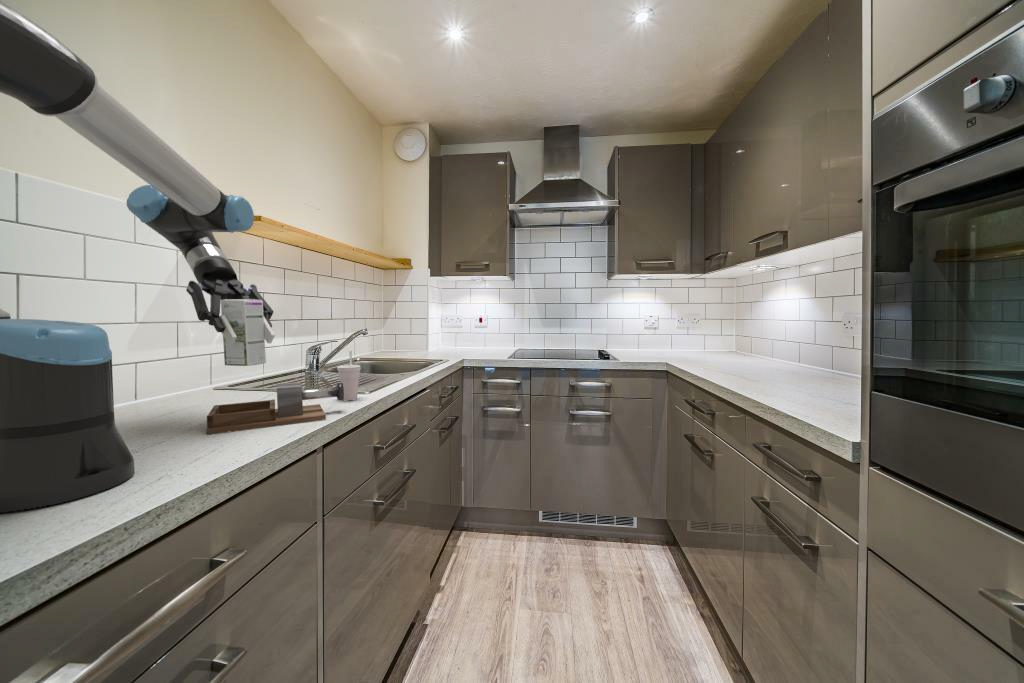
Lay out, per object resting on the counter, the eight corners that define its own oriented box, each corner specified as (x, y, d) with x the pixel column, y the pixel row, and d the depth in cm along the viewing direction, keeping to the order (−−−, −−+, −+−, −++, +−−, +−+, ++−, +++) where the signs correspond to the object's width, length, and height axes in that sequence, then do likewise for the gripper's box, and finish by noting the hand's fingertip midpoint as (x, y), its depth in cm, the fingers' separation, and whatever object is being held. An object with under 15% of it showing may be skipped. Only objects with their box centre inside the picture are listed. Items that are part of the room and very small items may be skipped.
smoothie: (357, 401, 111) (355, 352, 110) (334, 402, 111) (332, 352, 110) (365, 397, 117) (363, 350, 117) (343, 397, 117) (341, 350, 117)
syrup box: (267, 363, 91) (264, 299, 90) (246, 366, 85) (243, 298, 84) (244, 362, 92) (241, 299, 91) (222, 366, 86) (219, 298, 85)
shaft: (344, 401, 98) (343, 383, 98) (282, 408, 91) (281, 389, 91) (341, 398, 102) (341, 381, 102) (282, 404, 95) (281, 386, 95)
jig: (325, 419, 92) (324, 386, 91) (207, 434, 81) (205, 397, 80) (319, 407, 104) (318, 378, 103) (215, 419, 92) (213, 386, 92)
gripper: (252, 283, 103) (291, 348, 96) (153, 278, 86) (192, 356, 79) (262, 261, 100) (303, 326, 93) (162, 251, 83) (203, 330, 76)
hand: (252, 340), depth 86 cm, fingers closed on syrup box, 7 cm apart
